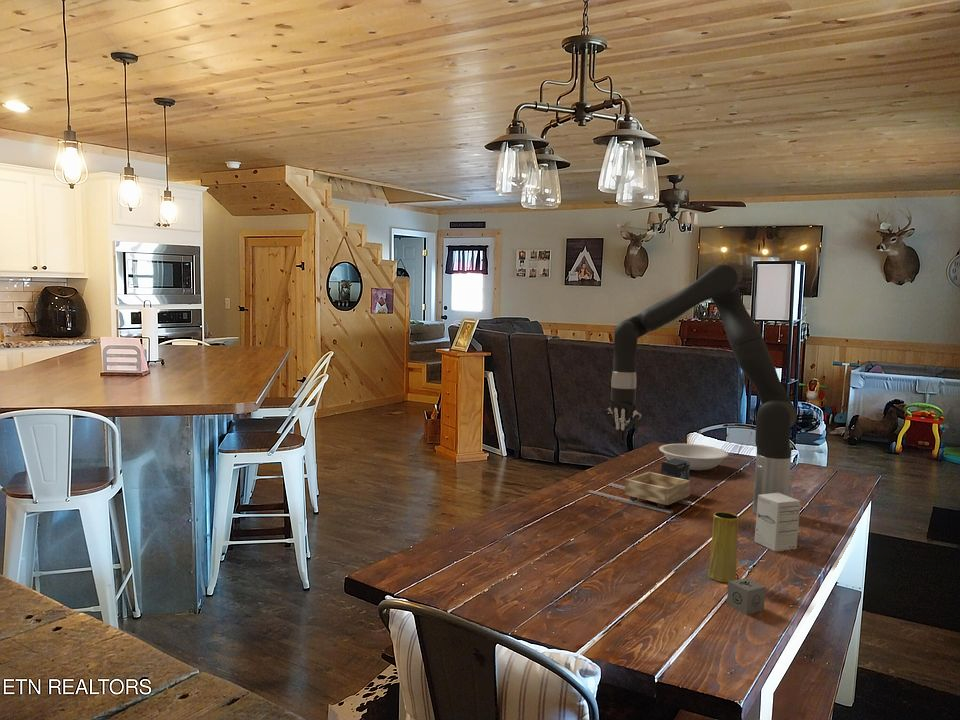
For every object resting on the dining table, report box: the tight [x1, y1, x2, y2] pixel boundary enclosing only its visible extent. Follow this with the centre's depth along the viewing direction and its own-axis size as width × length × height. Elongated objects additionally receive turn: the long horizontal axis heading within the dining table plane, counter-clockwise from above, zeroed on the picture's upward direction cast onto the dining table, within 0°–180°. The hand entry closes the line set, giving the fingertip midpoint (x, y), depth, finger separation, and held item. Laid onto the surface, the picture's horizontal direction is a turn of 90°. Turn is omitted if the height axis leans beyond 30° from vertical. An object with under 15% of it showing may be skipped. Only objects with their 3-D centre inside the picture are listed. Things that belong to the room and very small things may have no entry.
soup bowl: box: [658, 443, 729, 471], centre depth 261 cm, size 24×24×7 cm
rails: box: [587, 482, 693, 515], centre depth 221 cm, size 28×14×1 cm, turn 48°
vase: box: [707, 511, 739, 584], centre depth 160 cm, size 6×6×14 cm
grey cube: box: [726, 577, 766, 616], centre depth 146 cm, size 5×5×5 cm
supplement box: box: [754, 493, 802, 552], centre depth 182 cm, size 7×7×13 cm
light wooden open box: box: [624, 471, 692, 508], centre depth 216 cm, size 14×14×6 cm
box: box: [660, 458, 690, 480], centre depth 227 cm, size 8×6×11 cm
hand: (621, 441), depth 223 cm, fingers closed
